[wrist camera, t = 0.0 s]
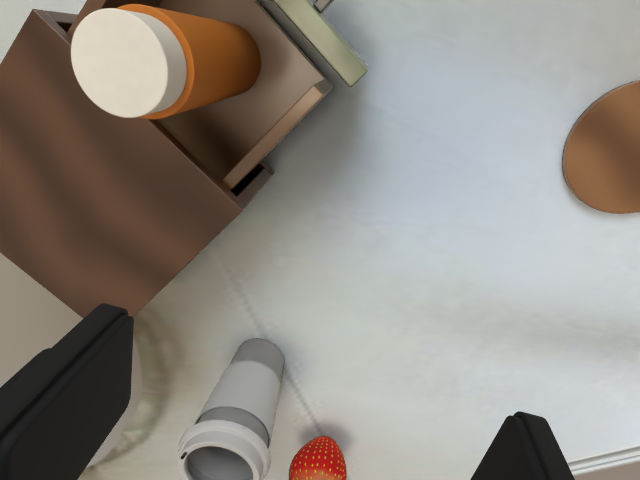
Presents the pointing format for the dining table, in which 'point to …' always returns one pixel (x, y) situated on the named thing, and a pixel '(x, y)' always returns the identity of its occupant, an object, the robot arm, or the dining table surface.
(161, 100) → the pill bottle
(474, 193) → the dining table surface
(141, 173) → the cabinet
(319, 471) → the fruit
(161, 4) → the drawer
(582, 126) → the coaster
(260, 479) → the cup
